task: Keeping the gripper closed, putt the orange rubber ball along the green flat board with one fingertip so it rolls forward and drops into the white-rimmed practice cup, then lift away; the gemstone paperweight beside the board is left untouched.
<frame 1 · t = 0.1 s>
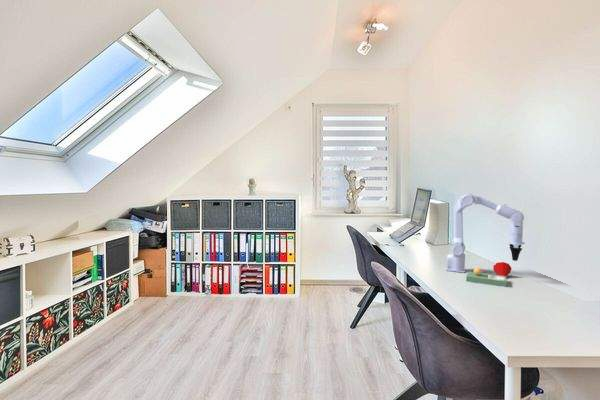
hand: (514, 259, 193), 10 cm above the table, fingers open, 7 cm apart
green flat board: (486, 281, 187), on the table
gemstone: (503, 277, 196), on the table
ball: (478, 271, 189), point 4 cm above the table, touching green flat board
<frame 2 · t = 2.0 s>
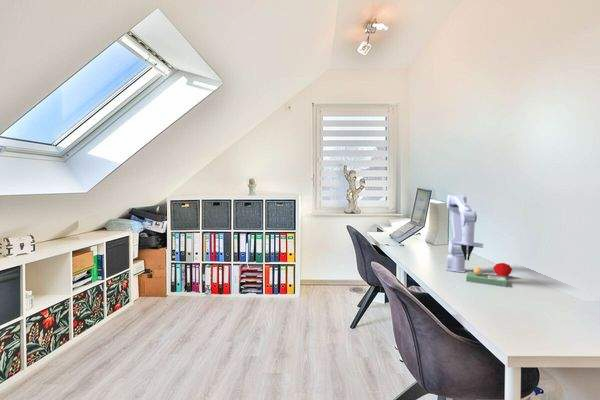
hand: (466, 259, 191), 10 cm above the table, fingers closed
gemstone: (503, 278, 194), on the table
everything else where it was.
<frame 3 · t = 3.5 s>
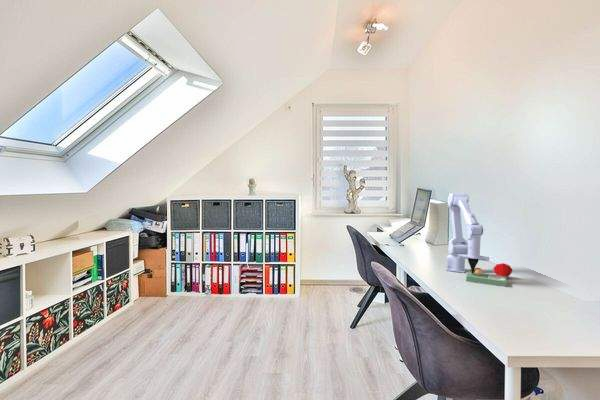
hand: (472, 273, 190), 3 cm above the table, fingers closed, pressing on ball
gemstone: (504, 278, 193), on the table
ball: (478, 271, 189), point 4 cm above the table, touching green flat board, gripper
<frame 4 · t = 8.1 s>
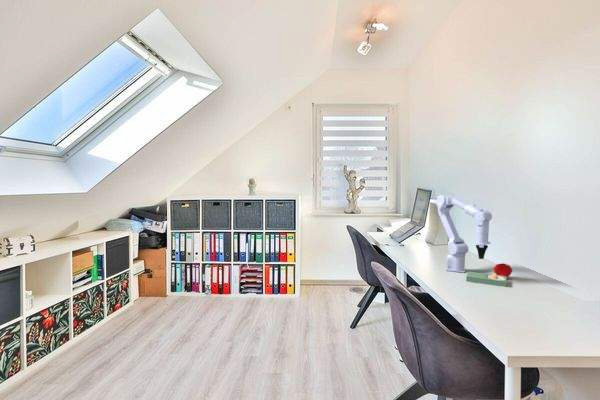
hand: (481, 258, 194), 10 cm above the table, fingers closed
ball: (494, 278, 185), point 2 cm above the table, tilted 143°
everything else where it was.
at the end: ball 0.6 cm from the target spot in the green flat board, point 2.0 cm above the green flat board's base; ball touching table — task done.
